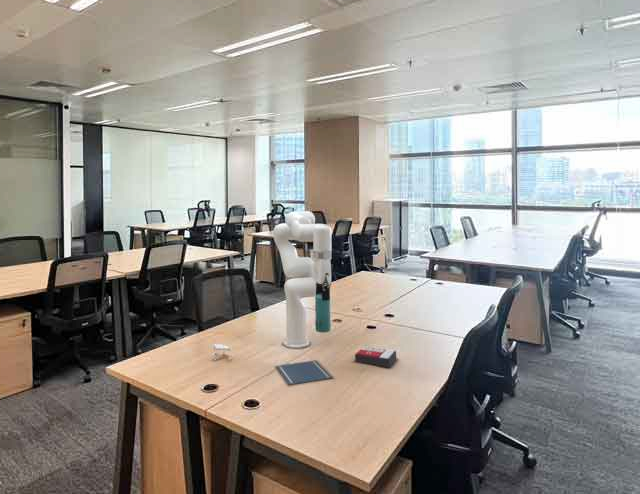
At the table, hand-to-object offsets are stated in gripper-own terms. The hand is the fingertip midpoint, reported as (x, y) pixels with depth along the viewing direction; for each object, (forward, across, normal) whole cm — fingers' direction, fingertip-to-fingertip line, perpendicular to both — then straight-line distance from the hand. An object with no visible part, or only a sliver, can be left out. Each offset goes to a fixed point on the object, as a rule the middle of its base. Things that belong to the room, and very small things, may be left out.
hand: (322, 297), depth 178 cm
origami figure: (+30, -24, -39) cm, 54 cm away
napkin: (+29, +1, -9) cm, 31 cm away
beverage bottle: (+15, 0, 0) cm, 15 cm away
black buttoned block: (+30, -1, +25) cm, 39 cm away
